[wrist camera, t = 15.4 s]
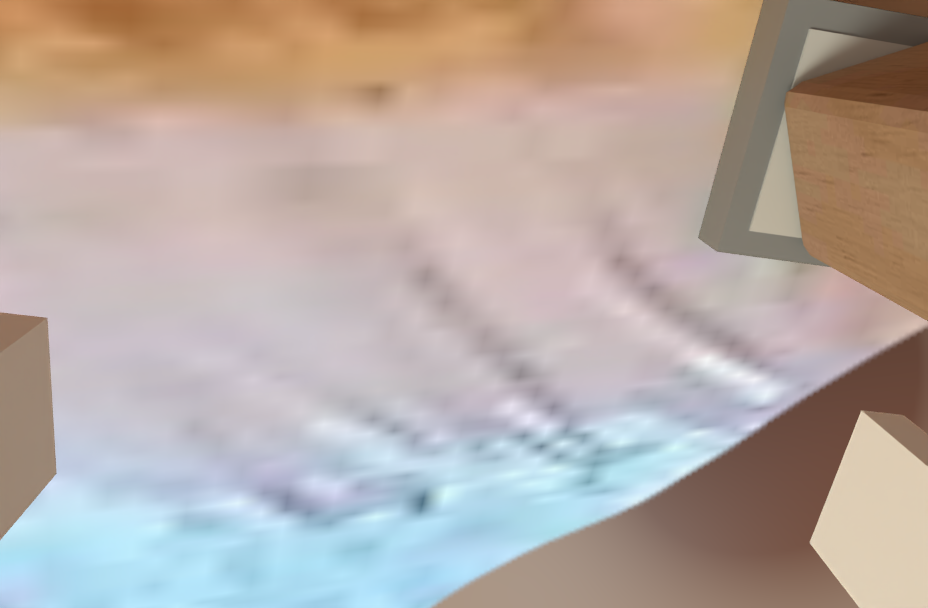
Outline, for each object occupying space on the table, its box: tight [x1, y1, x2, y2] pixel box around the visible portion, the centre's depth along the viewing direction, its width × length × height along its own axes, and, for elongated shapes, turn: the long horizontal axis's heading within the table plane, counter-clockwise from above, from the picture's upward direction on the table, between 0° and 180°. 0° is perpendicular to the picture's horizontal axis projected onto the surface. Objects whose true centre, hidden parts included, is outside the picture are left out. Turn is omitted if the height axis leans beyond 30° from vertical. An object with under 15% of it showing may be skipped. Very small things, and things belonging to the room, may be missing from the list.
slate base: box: [698, 0, 928, 267], centre depth 41 cm, size 14×14×3 cm
